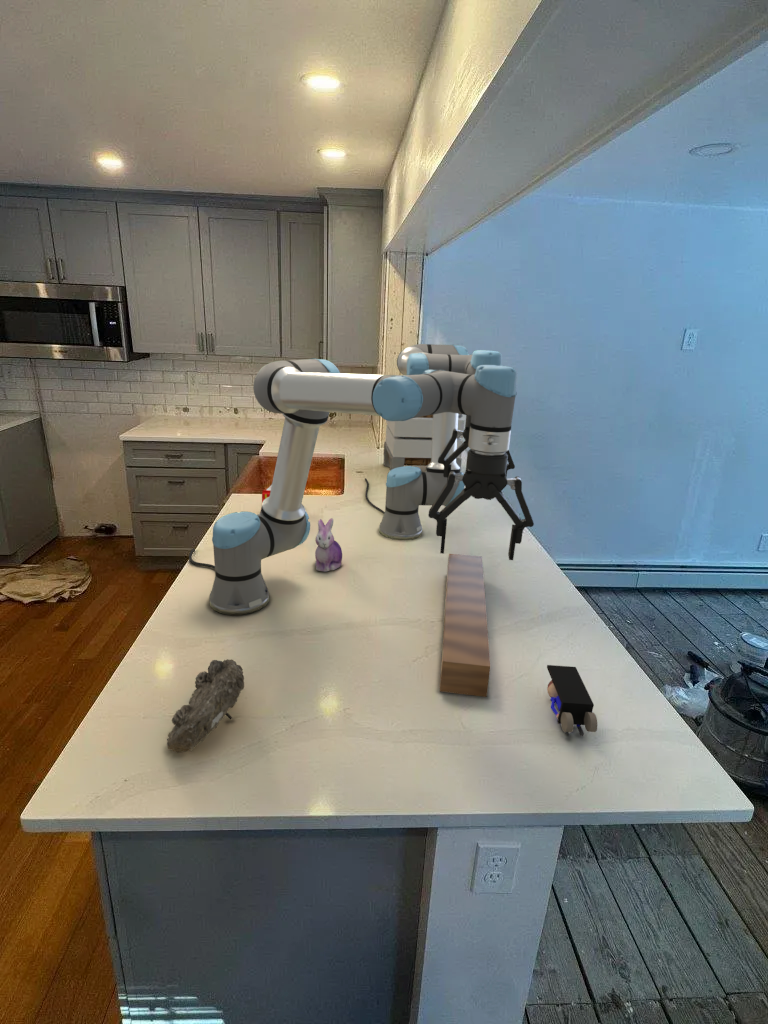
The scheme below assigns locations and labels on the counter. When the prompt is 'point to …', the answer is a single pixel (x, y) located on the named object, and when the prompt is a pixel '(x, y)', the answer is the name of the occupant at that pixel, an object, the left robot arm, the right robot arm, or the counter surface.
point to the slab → (465, 629)
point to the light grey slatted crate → (412, 442)
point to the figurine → (327, 548)
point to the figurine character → (570, 699)
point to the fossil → (206, 705)
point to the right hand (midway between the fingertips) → (473, 490)
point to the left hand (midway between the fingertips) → (476, 554)
